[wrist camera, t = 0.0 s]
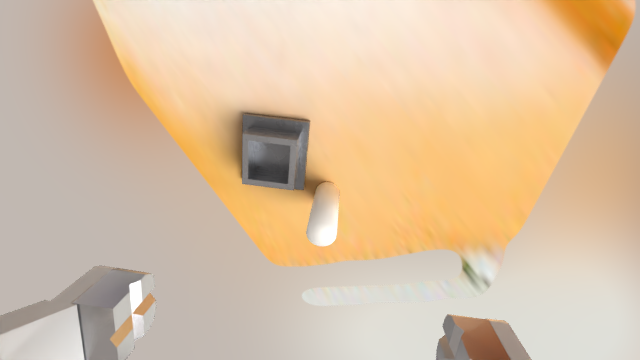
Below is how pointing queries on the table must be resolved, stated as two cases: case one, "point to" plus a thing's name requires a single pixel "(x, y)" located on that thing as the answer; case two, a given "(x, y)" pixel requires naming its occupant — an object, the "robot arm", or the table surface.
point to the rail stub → (324, 215)
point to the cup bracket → (274, 151)
